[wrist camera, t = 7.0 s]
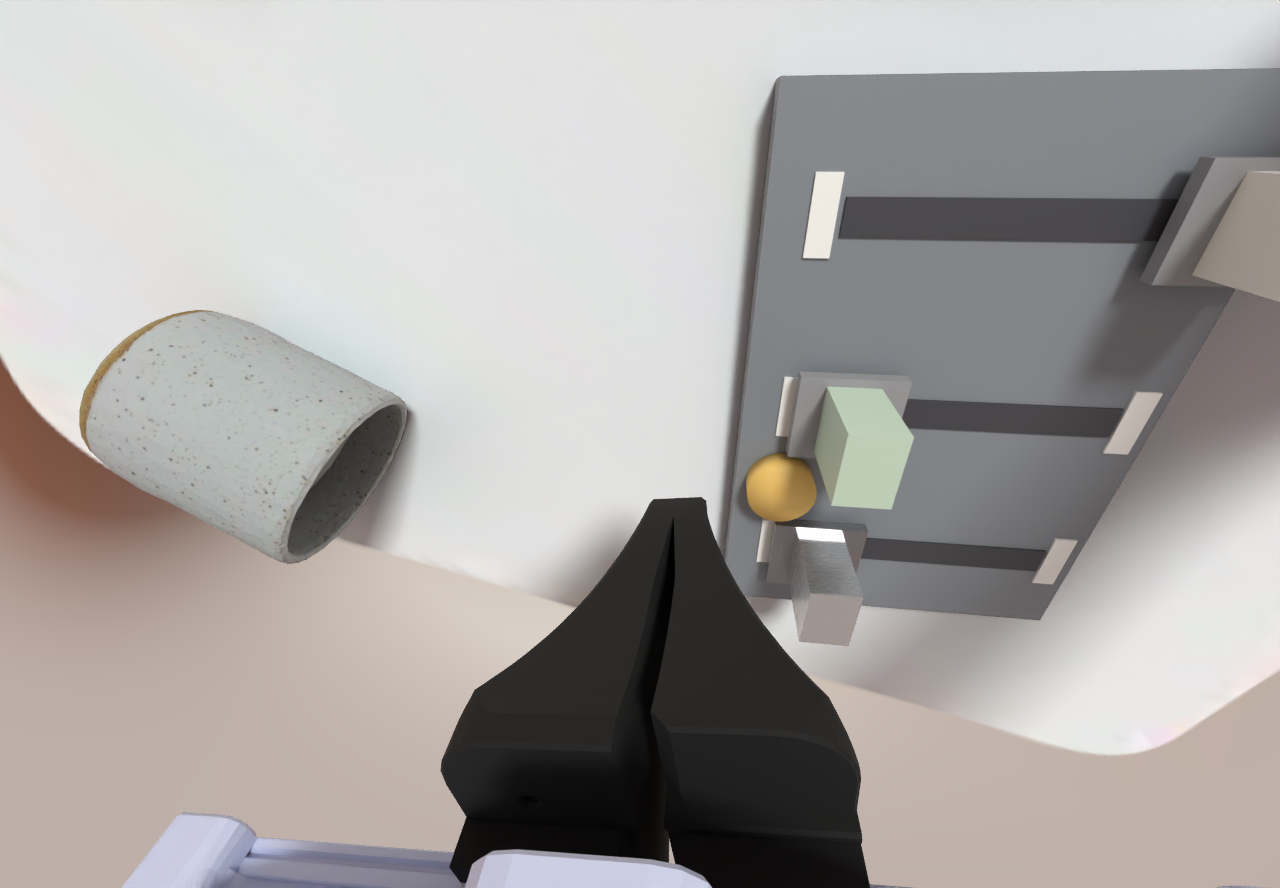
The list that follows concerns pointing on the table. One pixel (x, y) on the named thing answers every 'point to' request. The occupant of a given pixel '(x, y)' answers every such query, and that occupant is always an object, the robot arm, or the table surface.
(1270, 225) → the paddle cream
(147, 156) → the table surface
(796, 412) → the pale mint cube
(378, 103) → the table surface
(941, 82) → the panel
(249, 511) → the ceramic mug
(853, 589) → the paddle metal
